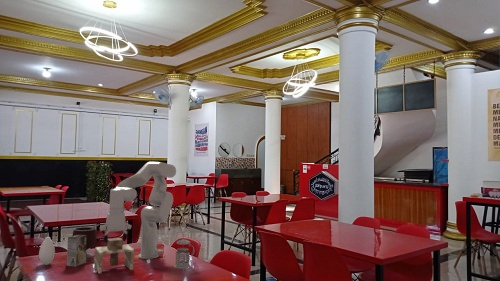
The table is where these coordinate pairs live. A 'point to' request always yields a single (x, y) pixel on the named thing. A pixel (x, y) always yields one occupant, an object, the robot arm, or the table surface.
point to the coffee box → (76, 250)
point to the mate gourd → (90, 237)
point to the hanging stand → (104, 250)
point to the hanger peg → (114, 245)
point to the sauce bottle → (47, 251)
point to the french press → (183, 254)
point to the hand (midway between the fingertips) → (115, 241)
